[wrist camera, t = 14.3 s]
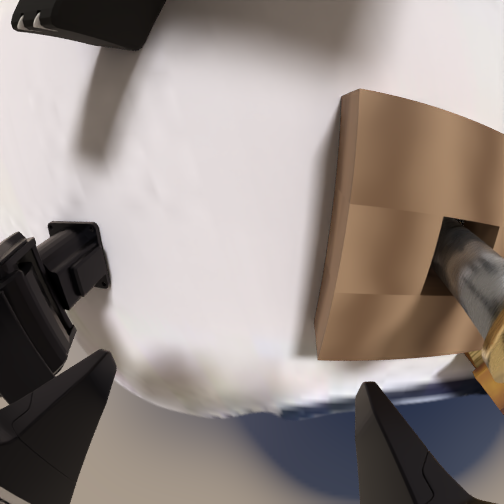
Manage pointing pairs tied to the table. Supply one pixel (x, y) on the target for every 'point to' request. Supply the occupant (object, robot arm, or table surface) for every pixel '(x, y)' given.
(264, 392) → the table surface
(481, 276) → the pin
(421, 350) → the socket block
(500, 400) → the diary
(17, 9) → the electronic device
